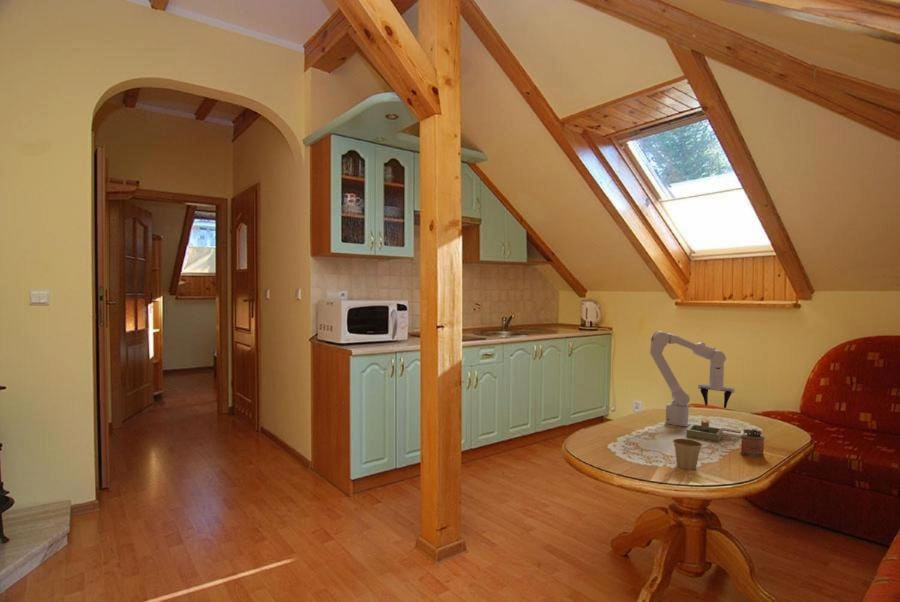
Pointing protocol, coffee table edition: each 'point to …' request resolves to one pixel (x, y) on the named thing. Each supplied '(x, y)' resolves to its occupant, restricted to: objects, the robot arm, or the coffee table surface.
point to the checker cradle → (732, 433)
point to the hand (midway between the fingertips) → (715, 406)
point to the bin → (704, 433)
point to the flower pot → (687, 453)
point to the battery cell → (704, 426)
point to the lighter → (752, 443)
